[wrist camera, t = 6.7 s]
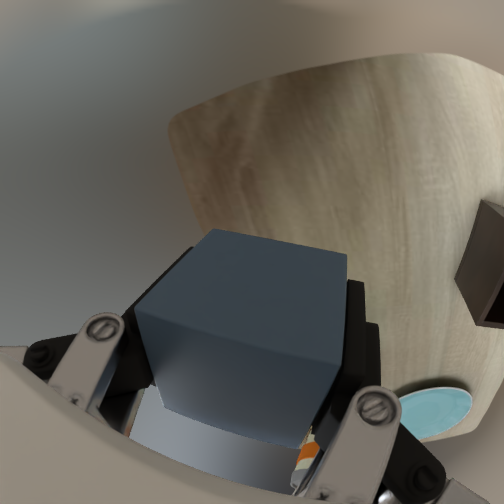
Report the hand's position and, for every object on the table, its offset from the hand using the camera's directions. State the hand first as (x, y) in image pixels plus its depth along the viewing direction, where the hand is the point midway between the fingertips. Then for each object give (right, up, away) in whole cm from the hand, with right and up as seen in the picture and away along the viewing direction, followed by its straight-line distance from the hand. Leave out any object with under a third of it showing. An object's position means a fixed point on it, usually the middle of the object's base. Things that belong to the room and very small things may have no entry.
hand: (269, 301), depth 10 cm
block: (0, 0, 0) cm, 0 cm away
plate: (+35, -30, +34) cm, 57 cm away
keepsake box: (+31, +2, +18) cm, 36 cm away
